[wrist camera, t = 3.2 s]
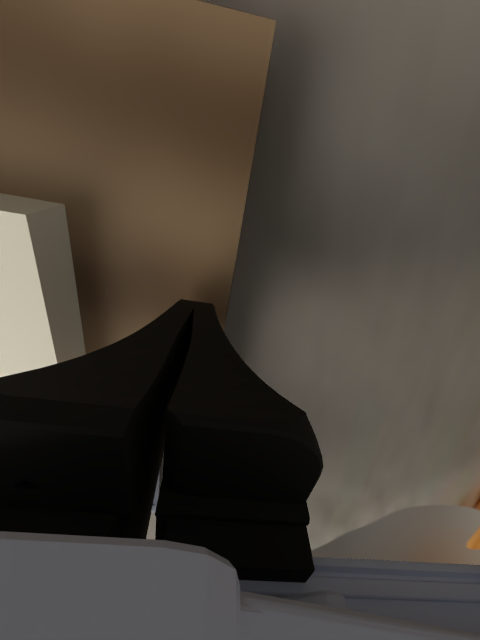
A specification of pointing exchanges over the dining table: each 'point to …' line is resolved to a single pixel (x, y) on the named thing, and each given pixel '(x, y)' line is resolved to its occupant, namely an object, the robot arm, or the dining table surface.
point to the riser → (135, 144)
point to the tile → (36, 287)
